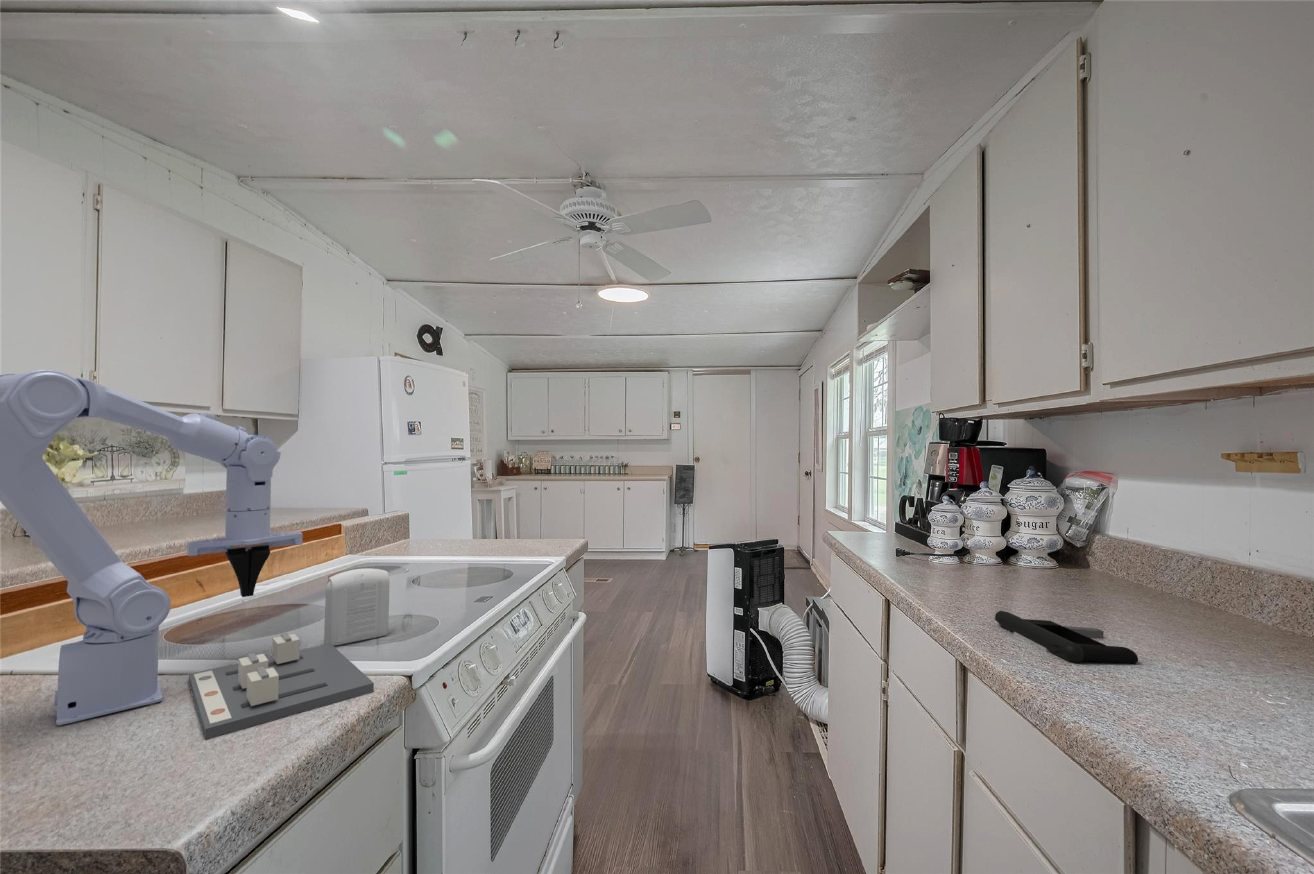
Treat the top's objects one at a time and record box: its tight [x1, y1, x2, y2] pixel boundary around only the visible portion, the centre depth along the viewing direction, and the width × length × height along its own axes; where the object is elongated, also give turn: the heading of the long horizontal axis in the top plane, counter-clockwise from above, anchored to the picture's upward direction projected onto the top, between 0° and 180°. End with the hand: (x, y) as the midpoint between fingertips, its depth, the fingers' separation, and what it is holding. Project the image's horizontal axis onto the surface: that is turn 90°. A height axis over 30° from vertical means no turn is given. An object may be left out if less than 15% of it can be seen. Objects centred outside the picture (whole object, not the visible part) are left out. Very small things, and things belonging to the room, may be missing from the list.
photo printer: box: [323, 567, 390, 647], centre depth 97 cm, size 10×4×12 cm, turn 134°
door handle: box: [993, 610, 1139, 665], centre depth 95 cm, size 3×20×16 cm
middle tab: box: [238, 652, 268, 689], centre depth 75 cm, size 3×4×3 cm
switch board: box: [188, 644, 375, 740], centre depth 77 cm, size 18×22×1 cm
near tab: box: [246, 667, 279, 706], centre depth 70 cm, size 3×4×3 cm
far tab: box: [271, 632, 301, 664], centre depth 83 cm, size 3×4×3 cm
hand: (247, 595), depth 86 cm, fingers closed
